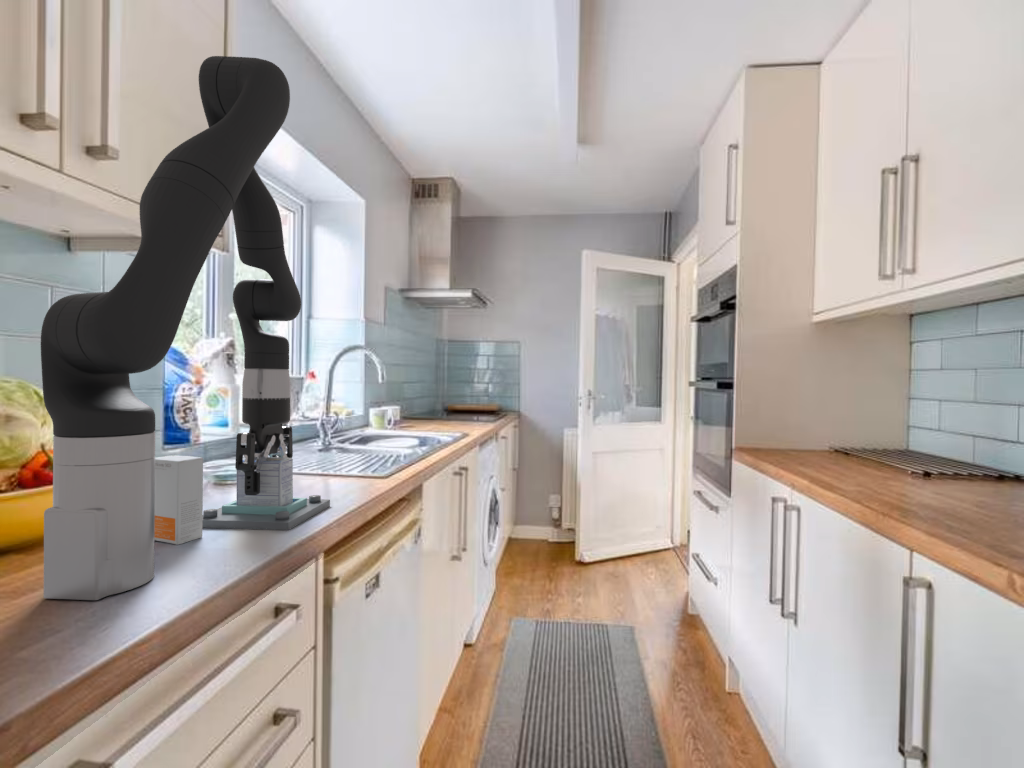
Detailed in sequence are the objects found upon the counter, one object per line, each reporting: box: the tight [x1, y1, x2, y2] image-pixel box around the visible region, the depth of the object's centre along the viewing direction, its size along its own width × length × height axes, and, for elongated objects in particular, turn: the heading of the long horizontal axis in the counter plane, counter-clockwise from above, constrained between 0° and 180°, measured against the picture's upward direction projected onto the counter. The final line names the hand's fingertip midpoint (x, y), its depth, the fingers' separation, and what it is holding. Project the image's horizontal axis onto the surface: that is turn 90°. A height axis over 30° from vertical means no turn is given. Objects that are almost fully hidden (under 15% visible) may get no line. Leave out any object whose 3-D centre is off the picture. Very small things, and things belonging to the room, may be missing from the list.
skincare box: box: [154, 454, 204, 546], centre depth 78 cm, size 6×4×12 cm
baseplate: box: [202, 494, 331, 531], centre depth 91 cm, size 16×16×2 cm
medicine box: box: [236, 456, 294, 506], centre depth 91 cm, size 8×4×9 cm, turn 87°
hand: (266, 489), depth 91 cm, fingers open, 8 cm apart
